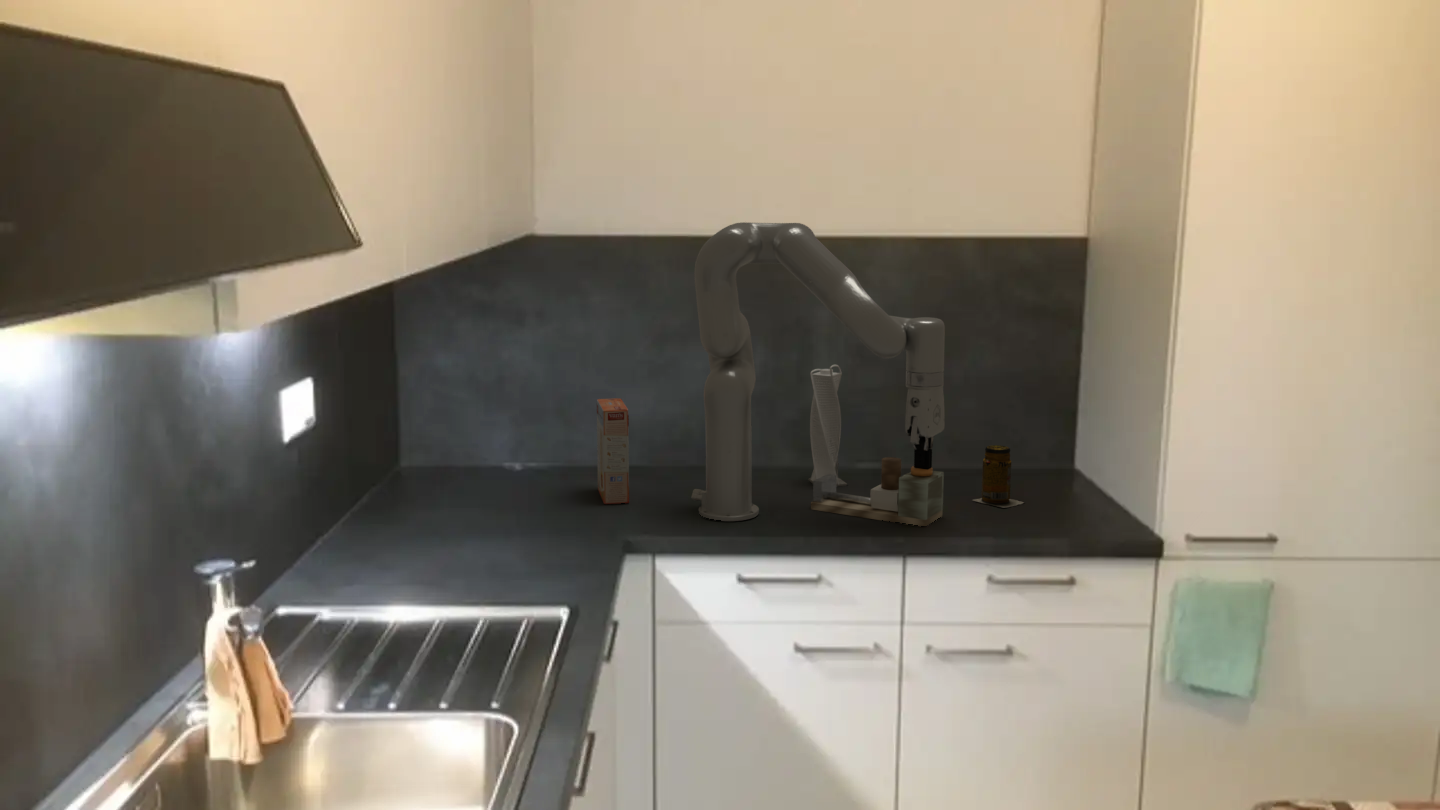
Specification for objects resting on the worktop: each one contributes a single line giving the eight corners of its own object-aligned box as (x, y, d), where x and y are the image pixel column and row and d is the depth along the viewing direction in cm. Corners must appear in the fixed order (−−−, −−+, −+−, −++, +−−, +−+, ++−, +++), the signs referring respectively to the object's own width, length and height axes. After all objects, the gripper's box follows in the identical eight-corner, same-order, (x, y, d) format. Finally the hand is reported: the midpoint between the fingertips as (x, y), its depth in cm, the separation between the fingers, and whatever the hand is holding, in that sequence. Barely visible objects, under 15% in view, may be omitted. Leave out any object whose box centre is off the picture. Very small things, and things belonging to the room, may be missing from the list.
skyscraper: (849, 487, 288) (851, 364, 283) (815, 489, 286) (816, 366, 281) (836, 478, 296) (838, 359, 291) (803, 480, 294) (804, 360, 289)
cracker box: (631, 504, 274) (629, 408, 270) (603, 505, 273) (601, 409, 269) (623, 488, 288) (622, 397, 284) (597, 489, 287) (595, 398, 283)
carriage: (870, 508, 263) (871, 461, 262) (884, 500, 269) (885, 454, 267) (896, 512, 260) (898, 464, 258) (910, 504, 266) (911, 457, 264)
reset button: (907, 484, 260) (907, 468, 259) (915, 479, 263) (916, 464, 263) (927, 486, 257) (927, 471, 257) (935, 482, 261) (936, 467, 260)
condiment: (993, 495, 280) (995, 442, 278) (1024, 503, 274) (1027, 449, 272) (971, 501, 276) (973, 447, 274) (1003, 509, 270) (1005, 454, 267)
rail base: (810, 509, 270) (811, 465, 268) (829, 499, 277) (830, 457, 275) (925, 527, 256) (926, 481, 255) (942, 516, 264) (943, 472, 262)
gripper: (927, 386, 248) (925, 478, 251) (956, 375, 260) (953, 462, 264) (892, 383, 252) (890, 473, 255) (921, 372, 264) (920, 458, 268)
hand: (922, 467), depth 260 cm, fingers closed
